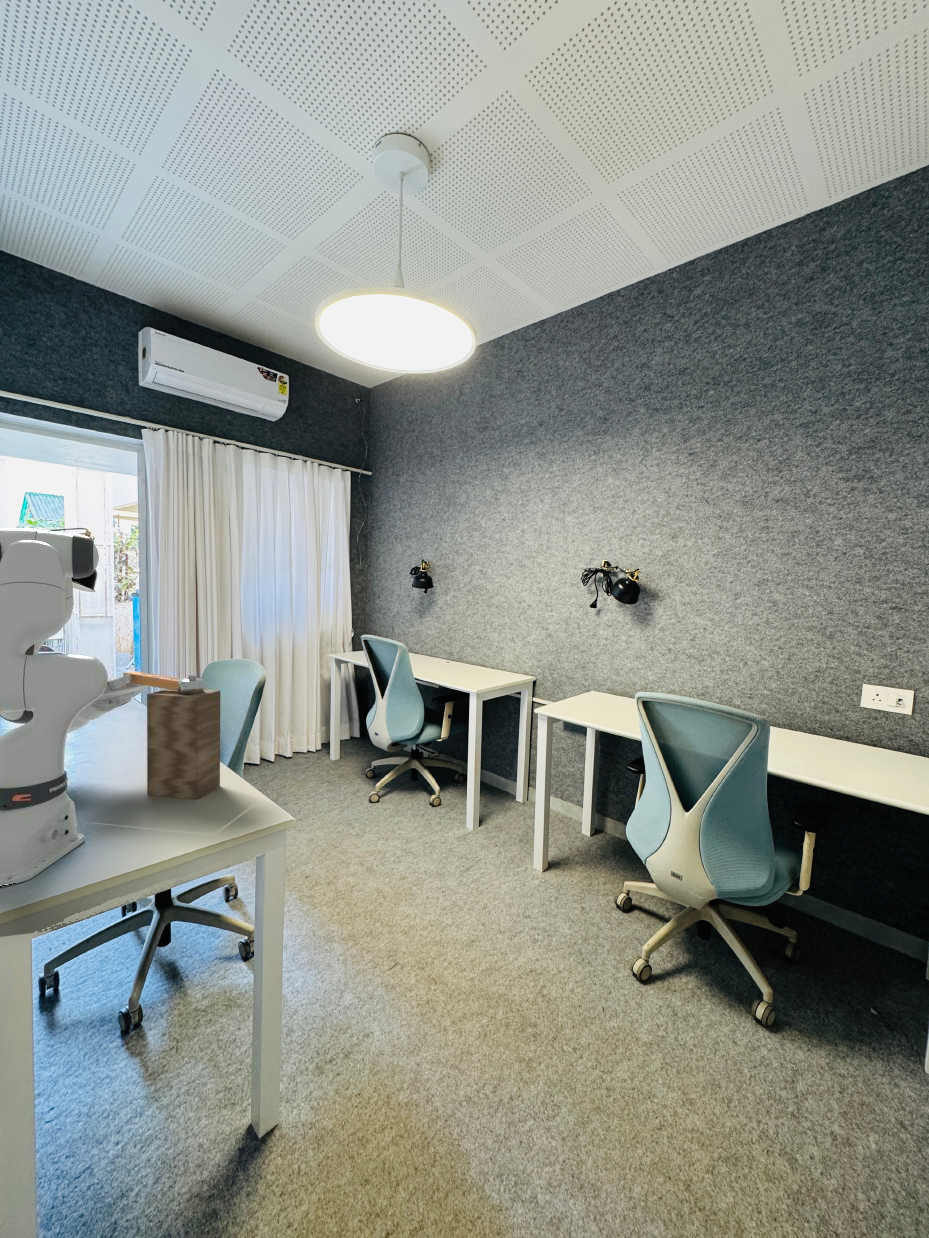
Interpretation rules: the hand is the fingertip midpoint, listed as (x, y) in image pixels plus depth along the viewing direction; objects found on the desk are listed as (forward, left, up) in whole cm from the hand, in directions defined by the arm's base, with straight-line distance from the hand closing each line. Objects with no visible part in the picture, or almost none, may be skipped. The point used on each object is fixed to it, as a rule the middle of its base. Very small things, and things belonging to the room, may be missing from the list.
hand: (137, 675), depth 130 cm
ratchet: (-3, -7, -3) cm, 8 cm away
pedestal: (-5, -13, -30) cm, 33 cm away
